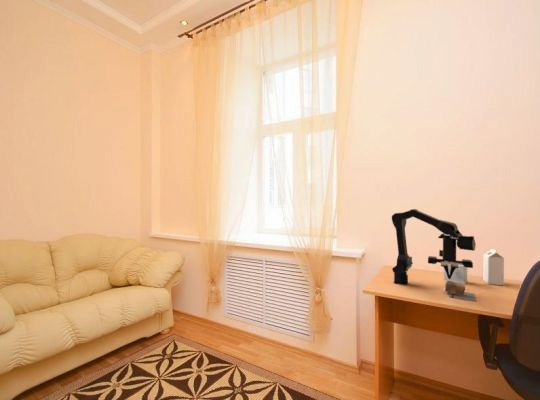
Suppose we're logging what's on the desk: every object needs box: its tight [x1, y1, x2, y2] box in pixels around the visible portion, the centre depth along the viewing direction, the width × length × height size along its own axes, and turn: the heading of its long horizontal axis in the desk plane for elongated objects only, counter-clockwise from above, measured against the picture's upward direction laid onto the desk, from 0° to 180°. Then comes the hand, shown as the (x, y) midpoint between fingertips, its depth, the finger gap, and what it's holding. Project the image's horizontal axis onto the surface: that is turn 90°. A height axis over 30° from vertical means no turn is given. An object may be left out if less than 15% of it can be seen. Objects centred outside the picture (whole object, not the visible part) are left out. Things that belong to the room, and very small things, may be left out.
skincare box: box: [443, 261, 468, 285], centre depth 160 cm, size 10×6×10 cm, turn 42°
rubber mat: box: [452, 291, 477, 303], centre depth 137 cm, size 9×12×1 cm
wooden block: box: [443, 280, 466, 296], centre depth 138 cm, size 4×4×8 cm
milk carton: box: [482, 248, 505, 286], centre depth 156 cm, size 7×7×19 cm
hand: (449, 278), depth 139 cm, fingers closed
